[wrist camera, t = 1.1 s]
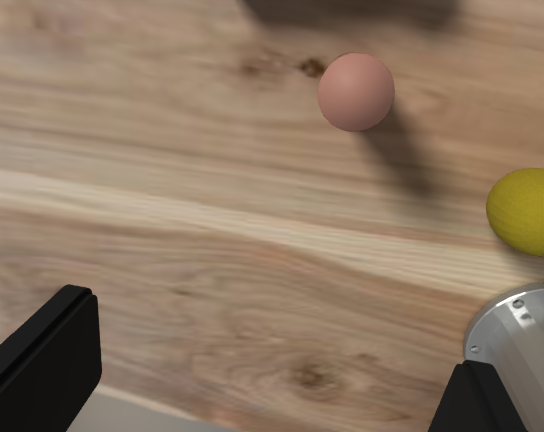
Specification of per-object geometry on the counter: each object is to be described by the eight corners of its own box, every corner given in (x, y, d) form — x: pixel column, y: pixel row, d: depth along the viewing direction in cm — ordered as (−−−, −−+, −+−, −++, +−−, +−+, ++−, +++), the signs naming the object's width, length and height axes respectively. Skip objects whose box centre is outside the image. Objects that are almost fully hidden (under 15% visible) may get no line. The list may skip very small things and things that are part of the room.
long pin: (375, 50, 28) (395, 50, 18) (375, 103, 30) (393, 129, 20) (324, 55, 29) (316, 56, 19) (325, 106, 30) (319, 133, 20)
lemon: (457, 189, 31) (493, 231, 24) (524, 140, 29) (586, 170, 22) (499, 238, 32) (547, 293, 25) (567, 194, 30) (640, 241, 23)
